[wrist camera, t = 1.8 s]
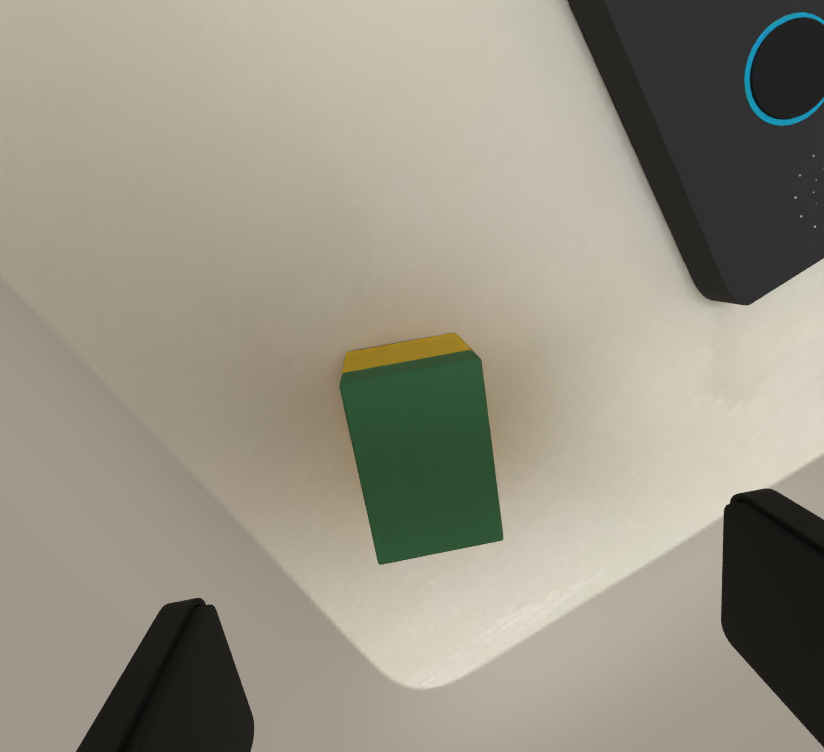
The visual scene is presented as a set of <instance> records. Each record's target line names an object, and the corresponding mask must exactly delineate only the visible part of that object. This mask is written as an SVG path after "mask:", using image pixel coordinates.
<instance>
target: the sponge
mask: <svg viewBox="0 0 824 752" xmlns="http://www.w3.org/2000/svg"><path fill="white" fill-rule="evenodd" d="M340 391H341V395H342V400H343V405H344V409H345V414H346V418H347V423H348V427H349V432H350V437H351V441H352V446H353V450H354V455H355V459H356V464H357V468H358V473H359V478H360V482H361V487H362V491H363V496H364V500H365V505H366V510H367V514H368V519H369V523H370V528H371V532H372V537H373V542H374V546H375V551H376V555H377V560H378V563H379V564H380V565H382V564H387V563H392V562H397V561H402V560H407V559H412V558H417V557H422V556H427V555H432V554H437V553H442V552H447V551H452V550H457V549H462V548H467V547H472V546H477V545H482V544H487V543H492V542H497V541H502V540H503V530H502V522H501V514H500V506H499V498H498V490H497V482H496V474H495V466H494V458H493V450H492V442H491V434H490V426H489V418H488V410H487V403H486V395H485V387H484V379H483V371H482V363H481V359H480V358H479V357H478V356H477V355H476V354H475V353H474V352H473V351H472V349H471V348H470V347H469V346H468V345H467V344H466V343H465V342H464V341H463V340H462V339H461V338H460V337H459V336H458V335H457V334H456V333H450V334H445V335H439V336H434V337H428V338H422V339H417V340H411V341H406V342H400V343H395V344H389V345H384V346H378V347H373V348H367V349H361V350H356V351H350V352H347V353H346V356H345V361H344V366H343V370H342V376H341V381H340Z"/></svg>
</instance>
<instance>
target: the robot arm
mask: <svg viewBox="0 0 824 752" xmlns="http://www.w3.org/2000/svg"><path fill="white" fill-rule="evenodd" d="M722 568H723V569H722V609H721V623H722V627H723V631H724V633H725V636H726V637H727V639H728V641H729V642H730V643H731V645H732V646H733V647H734V648H735V649H736V650H737V652H738V653H739V654H740V655H741V656H742V657H743V658H744V659H745V661H746V662H747V663H748V664H749V665H750V666H751V667H752V668H753V669H754V670H755V671H756V673H757V674H758V675H759V676H760V677H761V678H762V679H763V680H764V682H765V683H766V684H767V685H768V686H769V687H770V688H771V689H772V690H773V692H774V693H775V694H776V695H777V696H778V697H779V698H780V699H781V700H782V702H783V703H784V704H785V705H786V706H787V707H788V708H789V709H790V710H791V712H792V713H793V714H794V715H795V716H796V717H797V718H798V719H799V720H800V722H801V723H802V724H803V725H804V726H805V727H806V728H807V729H808V730H809V732H810V733H811V734H812V735H813V736H814V737H815V738H816V739H817V740H818V742H819V743H821V745H822V746H823V747H824V520H823V519H821V518H820V517H818V516H817V515H815V514H813V513H811V512H810V511H808V510H807V509H805V508H803V507H802V506H800V505H798V504H797V503H795V502H793V501H792V500H790V499H788V498H787V497H785V496H783V495H782V494H780V493H778V492H777V491H774V490H772V489H760V490H755V491H750V492H744V493H739V494H736V495H734V496H733V497H732V498H731V500H730V504H728V505H726V507H725V509H724V527H723V567H722ZM253 737H254V720H253V716H252V712H251V710H250V707H249V704H248V701H247V698H246V695H245V692H244V689H243V687H242V684H241V680H240V678H239V675H238V672H237V669H236V666H235V663H234V660H233V657H232V654H231V651H230V649H229V646H228V643H227V640H226V637H225V634H224V631H223V628H222V625H221V622H220V620H219V617H218V614H217V611H216V609H215V607H214V606H213V605H206V604H205V602H204V601H203V600H202V599H201V598H195V599H190V600H184V601H180V602H174V603H169V604H166V605H164V606H163V608H162V609H161V610H160V611H159V613H158V615H157V616H156V618H155V620H154V621H153V623H152V625H151V627H150V628H149V630H148V631H147V633H146V635H145V637H144V638H143V640H142V642H141V643H140V645H139V647H138V648H137V650H136V652H135V653H134V655H133V657H132V658H131V660H130V662H129V664H128V665H127V667H126V669H125V670H124V672H123V674H122V675H121V677H120V679H119V680H118V682H117V684H116V685H115V687H114V689H113V690H112V692H111V694H110V696H109V697H108V699H107V700H106V702H105V704H104V706H103V707H102V709H101V711H100V712H99V714H98V716H97V717H96V719H95V721H94V723H93V724H92V726H91V728H90V729H89V731H88V732H87V734H86V736H85V738H84V739H83V741H82V743H81V744H80V746H79V748H78V749H77V751H76V752H250V751H251V747H252V743H253Z"/></svg>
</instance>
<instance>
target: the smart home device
mask: <svg viewBox="0 0 824 752" xmlns="http://www.w3.org/2000/svg"><path fill="white" fill-rule="evenodd" d="M569 3H570V5H571V7H572V9H573V12H574V14H575V16H576V18H577V20H578V23H579V25H580V27H581V29H582V32H583V34H584V36H585V38H586V41H587V43H588V45H589V47H590V50H591V52H592V54H593V56H594V59H595V61H596V63H597V65H598V67H599V70H600V72H601V74H602V76H603V79H604V81H605V83H606V85H607V88H608V90H609V92H610V94H611V97H612V99H613V101H614V103H615V106H616V108H617V110H618V112H619V114H620V117H621V119H622V121H623V123H624V126H625V128H626V130H627V132H628V135H629V137H630V139H631V141H632V144H633V146H634V148H635V150H636V153H637V155H638V157H639V159H640V161H641V164H642V166H643V168H644V170H645V173H646V175H647V177H648V179H649V182H650V184H651V186H652V188H653V191H654V193H655V195H656V197H657V200H658V202H659V204H660V206H661V208H662V211H663V213H664V215H665V217H666V220H667V222H668V224H669V226H670V229H671V231H672V233H673V235H674V238H675V240H676V242H677V244H678V247H679V249H680V251H681V253H682V255H683V258H684V260H685V262H686V264H687V267H688V269H689V271H690V273H691V276H692V278H693V280H694V282H695V284H696V285H697V287H698V289H699V290H700V291H701V292H702V294H703V295H704V296H706V297H707V298H709V299H711V300H715V301H721V302H727V303H734V304H740V305H750V304H752V303H753V302H755V301H756V300H758V299H760V298H761V297H763V296H764V295H766V294H767V293H769V292H771V291H772V290H774V289H775V288H777V287H779V286H780V285H782V284H783V283H785V282H787V281H788V280H790V279H791V278H793V277H794V276H796V275H798V274H799V273H801V272H802V271H804V270H806V269H807V268H809V267H810V266H812V265H813V264H815V263H817V262H818V261H820V260H821V259H823V258H824V0H569Z"/></svg>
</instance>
